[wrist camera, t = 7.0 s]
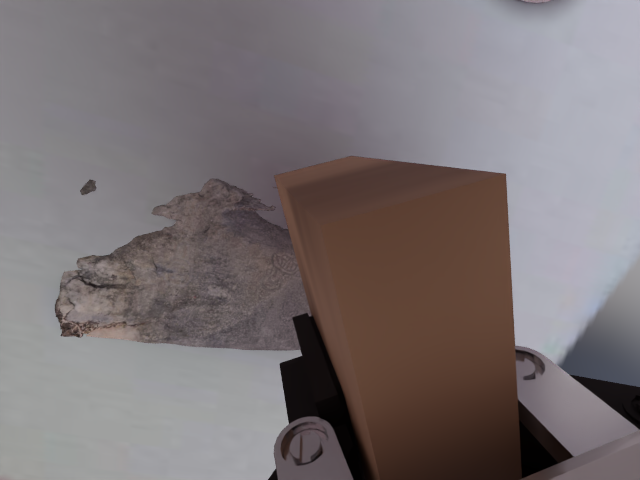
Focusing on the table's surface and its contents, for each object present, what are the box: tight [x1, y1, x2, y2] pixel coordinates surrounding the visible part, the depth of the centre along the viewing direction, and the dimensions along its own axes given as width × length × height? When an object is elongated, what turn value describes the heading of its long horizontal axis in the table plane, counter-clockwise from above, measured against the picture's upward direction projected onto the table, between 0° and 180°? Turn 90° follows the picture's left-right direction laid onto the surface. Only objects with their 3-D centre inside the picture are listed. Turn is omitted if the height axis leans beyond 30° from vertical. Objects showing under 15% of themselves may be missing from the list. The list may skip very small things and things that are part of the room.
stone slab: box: [55, 179, 311, 350], centre depth 19 cm, size 18×2×10 cm
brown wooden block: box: [274, 156, 522, 480], centre depth 9 cm, size 12×3×6 cm, turn 13°
